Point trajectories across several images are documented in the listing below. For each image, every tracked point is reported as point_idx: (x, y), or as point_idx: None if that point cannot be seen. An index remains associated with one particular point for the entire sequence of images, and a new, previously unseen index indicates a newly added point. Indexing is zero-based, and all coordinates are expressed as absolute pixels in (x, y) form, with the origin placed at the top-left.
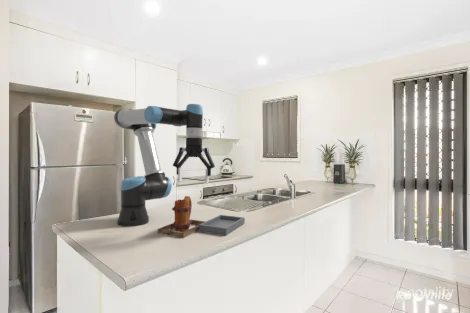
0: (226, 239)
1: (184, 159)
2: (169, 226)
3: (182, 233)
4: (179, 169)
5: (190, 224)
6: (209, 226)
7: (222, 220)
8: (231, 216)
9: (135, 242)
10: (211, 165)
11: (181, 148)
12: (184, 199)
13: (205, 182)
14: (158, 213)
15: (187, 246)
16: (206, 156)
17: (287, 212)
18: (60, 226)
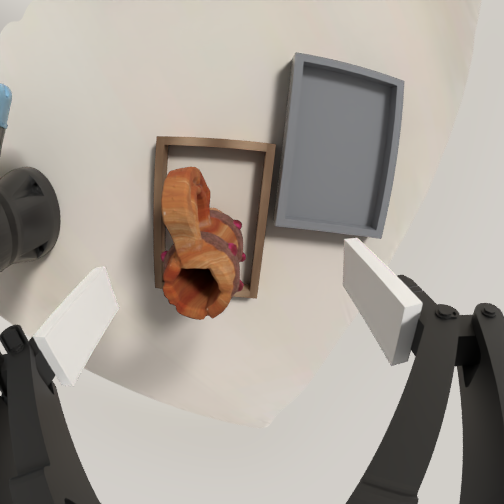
0: None
1: (81, 476)
2: (161, 239)
3: (252, 297)
4: (75, 376)
5: (240, 230)
6: (319, 230)
7: (316, 88)
8: (352, 70)
9: (162, 346)
10: (469, 374)
11: None
12: (192, 263)
13: (345, 287)
14: (24, 87)
15: (296, 335)
16: (464, 488)
17: None
18: None
